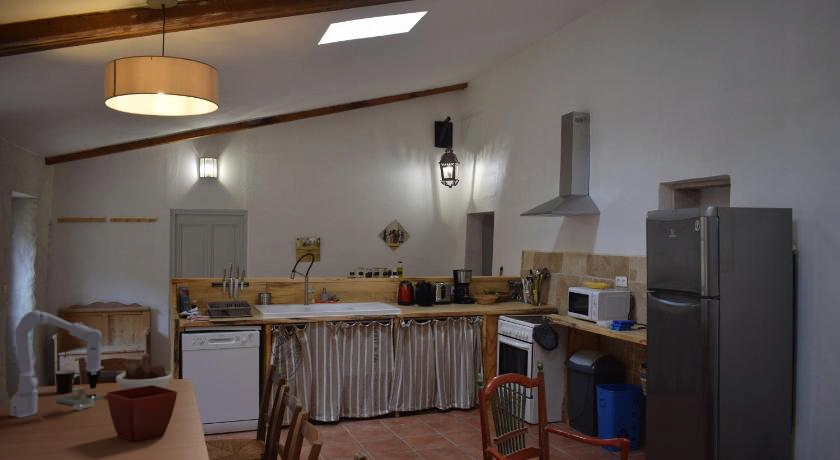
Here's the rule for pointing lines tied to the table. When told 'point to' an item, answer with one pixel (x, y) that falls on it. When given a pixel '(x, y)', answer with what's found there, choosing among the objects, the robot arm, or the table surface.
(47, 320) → the robot arm
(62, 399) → the tray
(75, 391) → the wooden block
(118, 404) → the plant pot
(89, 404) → the crank
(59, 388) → the coffee mug
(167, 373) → the white bowl of food
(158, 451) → the table surface
